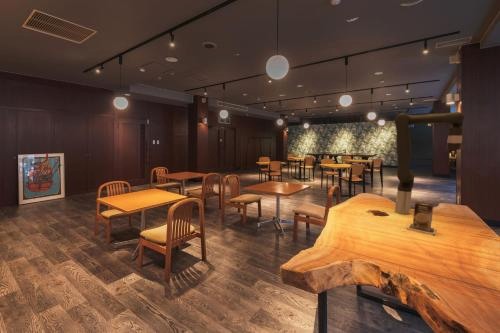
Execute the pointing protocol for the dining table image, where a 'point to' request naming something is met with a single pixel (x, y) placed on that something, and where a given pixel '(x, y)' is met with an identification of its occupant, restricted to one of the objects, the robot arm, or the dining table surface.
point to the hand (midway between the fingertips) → (451, 166)
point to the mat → (432, 230)
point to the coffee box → (422, 216)
